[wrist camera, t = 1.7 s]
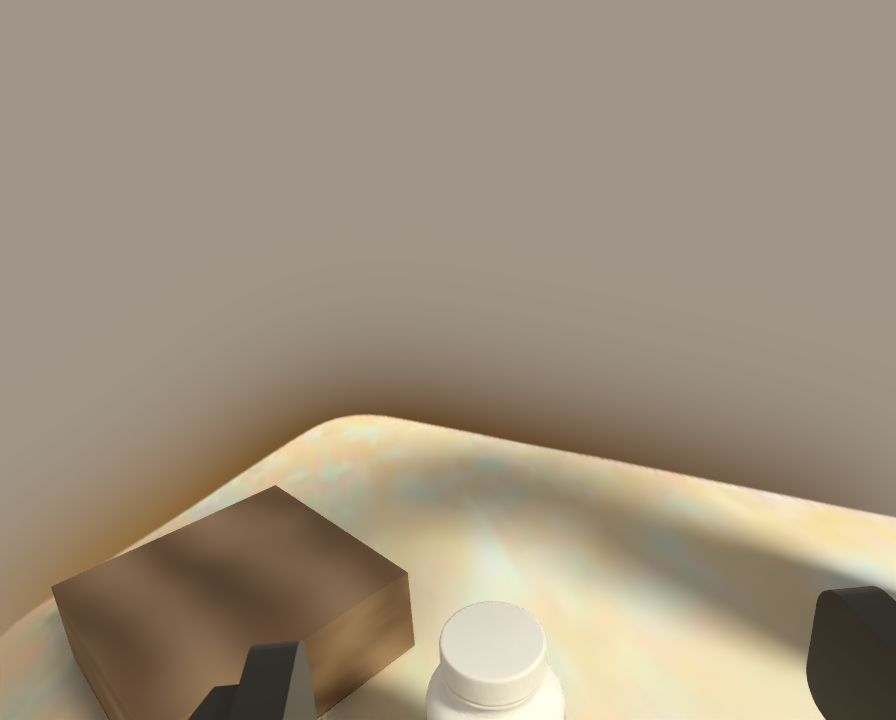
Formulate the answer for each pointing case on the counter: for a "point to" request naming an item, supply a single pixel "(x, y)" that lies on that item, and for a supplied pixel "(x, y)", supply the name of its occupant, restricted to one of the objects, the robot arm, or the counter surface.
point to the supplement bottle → (494, 668)
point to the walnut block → (234, 608)
